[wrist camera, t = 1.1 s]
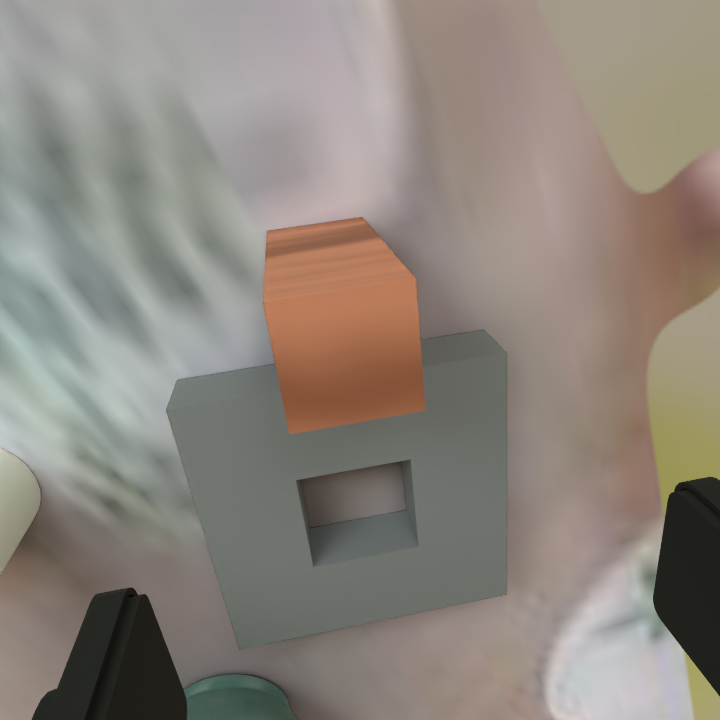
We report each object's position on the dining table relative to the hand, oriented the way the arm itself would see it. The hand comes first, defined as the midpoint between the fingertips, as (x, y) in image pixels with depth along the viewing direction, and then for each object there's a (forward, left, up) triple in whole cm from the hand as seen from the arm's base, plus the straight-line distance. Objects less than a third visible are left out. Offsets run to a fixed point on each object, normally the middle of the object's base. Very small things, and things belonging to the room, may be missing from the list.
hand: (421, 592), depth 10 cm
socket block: (+14, 0, -22) cm, 26 cm away
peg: (0, 0, -22) cm, 22 cm away
